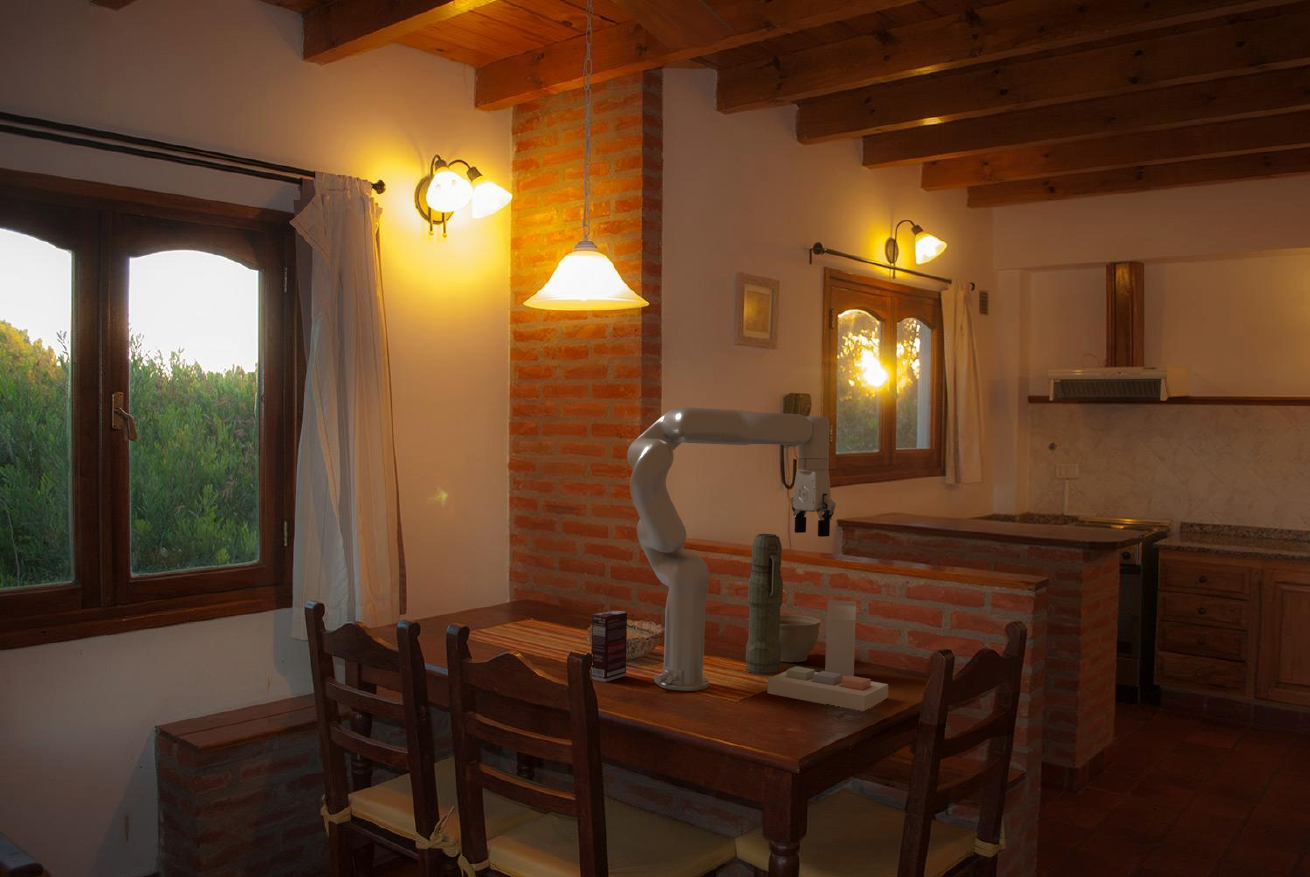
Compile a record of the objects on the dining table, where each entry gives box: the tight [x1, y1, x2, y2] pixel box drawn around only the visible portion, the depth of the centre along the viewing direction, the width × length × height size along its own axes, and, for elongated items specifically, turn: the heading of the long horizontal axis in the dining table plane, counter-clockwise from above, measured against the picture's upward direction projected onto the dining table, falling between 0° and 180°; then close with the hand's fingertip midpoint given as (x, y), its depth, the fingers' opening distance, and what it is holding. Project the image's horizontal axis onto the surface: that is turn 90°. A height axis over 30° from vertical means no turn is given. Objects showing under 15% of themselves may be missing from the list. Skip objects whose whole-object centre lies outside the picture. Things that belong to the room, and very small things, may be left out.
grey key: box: [813, 670, 842, 686], centre depth 234 cm, size 5×5×2 cm
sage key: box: [785, 665, 816, 681], centre depth 238 cm, size 5×5×2 cm
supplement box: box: [590, 610, 628, 683], centre depth 245 cm, size 9×5×16 cm, turn 145°
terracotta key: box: [841, 675, 872, 691], centre depth 230 cm, size 5×5×2 cm
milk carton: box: [824, 599, 857, 677], centre depth 256 cm, size 7×7×19 cm
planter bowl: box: [779, 614, 821, 663], centre depth 273 cm, size 16×16×11 cm
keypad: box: [766, 671, 889, 712], centre depth 234 cm, size 14×24×4 cm, turn 56°
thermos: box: [745, 533, 784, 676], centre depth 258 cm, size 9×12×35 cm
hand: (811, 534), depth 250 cm, fingers open, 9 cm apart
